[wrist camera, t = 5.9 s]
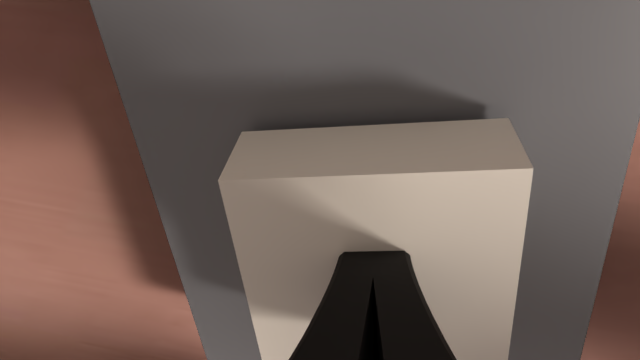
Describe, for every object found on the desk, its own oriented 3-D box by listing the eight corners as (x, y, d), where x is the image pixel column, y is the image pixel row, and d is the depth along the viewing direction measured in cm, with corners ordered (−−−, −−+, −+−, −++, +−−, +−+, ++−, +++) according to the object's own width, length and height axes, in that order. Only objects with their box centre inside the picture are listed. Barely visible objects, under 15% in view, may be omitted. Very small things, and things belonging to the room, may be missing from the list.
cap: (472, 244, 16) (505, 378, 12) (292, 248, 16) (265, 375, 12) (484, 69, 13) (533, 168, 9) (265, 83, 14) (218, 180, 10)
